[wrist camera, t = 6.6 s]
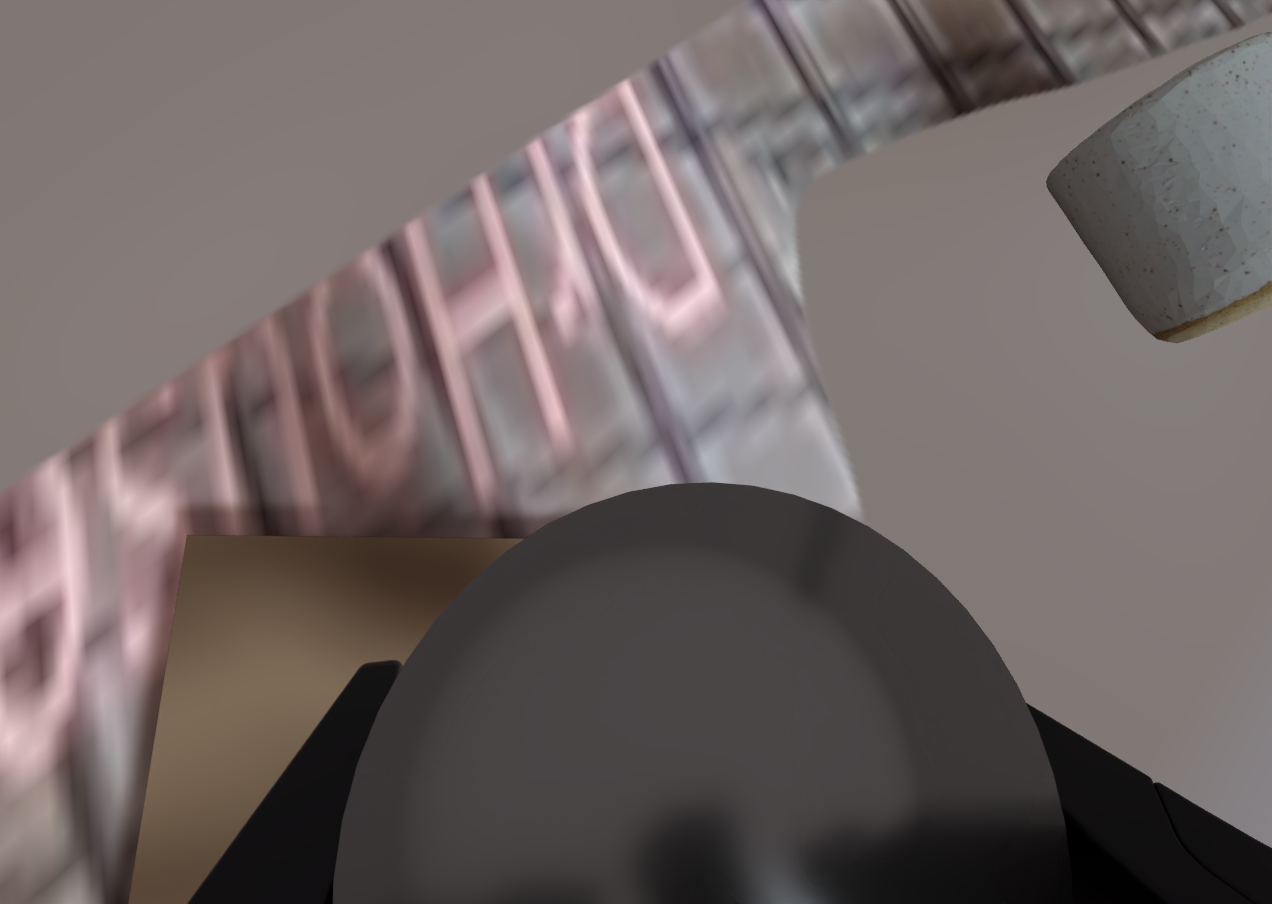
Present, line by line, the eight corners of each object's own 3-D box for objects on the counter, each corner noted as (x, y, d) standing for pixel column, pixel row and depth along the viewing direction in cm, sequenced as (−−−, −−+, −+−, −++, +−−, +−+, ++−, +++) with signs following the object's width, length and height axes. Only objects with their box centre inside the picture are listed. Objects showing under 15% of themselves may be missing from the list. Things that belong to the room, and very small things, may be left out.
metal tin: (741, 827, 14) (1192, 1111, 5) (477, 932, 13) (432, 1580, 4) (664, 570, 16) (912, 420, 6) (416, 641, 14) (267, 582, 5)
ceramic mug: (1121, 379, 27) (1351, 275, 20) (1003, 205, 28) (1179, 48, 21) (1281, 289, 30) (1529, 170, 23) (1169, 136, 32) (1370, -20, 25)
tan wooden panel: (647, 1313, 17) (656, 1352, 16) (66, 1426, 14) (36, 1479, 13) (632, 545, 22) (638, 539, 21) (201, 541, 19) (187, 535, 19)
